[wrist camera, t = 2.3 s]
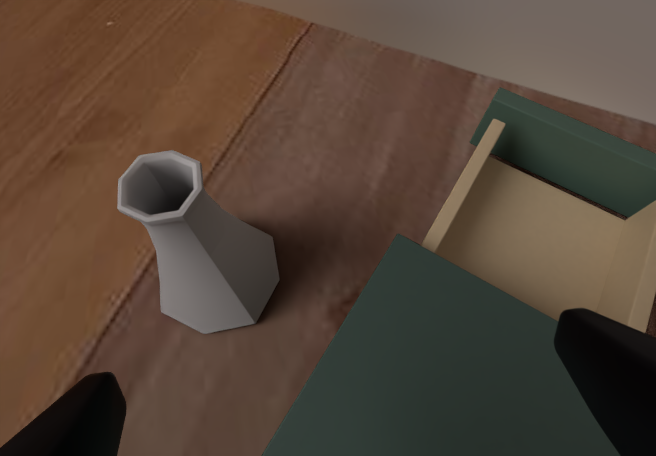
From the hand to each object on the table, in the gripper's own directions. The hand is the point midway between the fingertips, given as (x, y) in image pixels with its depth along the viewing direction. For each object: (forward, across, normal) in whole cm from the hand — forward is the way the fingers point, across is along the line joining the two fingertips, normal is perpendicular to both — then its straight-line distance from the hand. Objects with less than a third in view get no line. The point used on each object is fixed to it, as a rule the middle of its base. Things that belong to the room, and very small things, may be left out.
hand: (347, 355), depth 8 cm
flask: (+15, +6, +7) cm, 17 cm away
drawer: (+13, -12, +7) cm, 19 cm away
